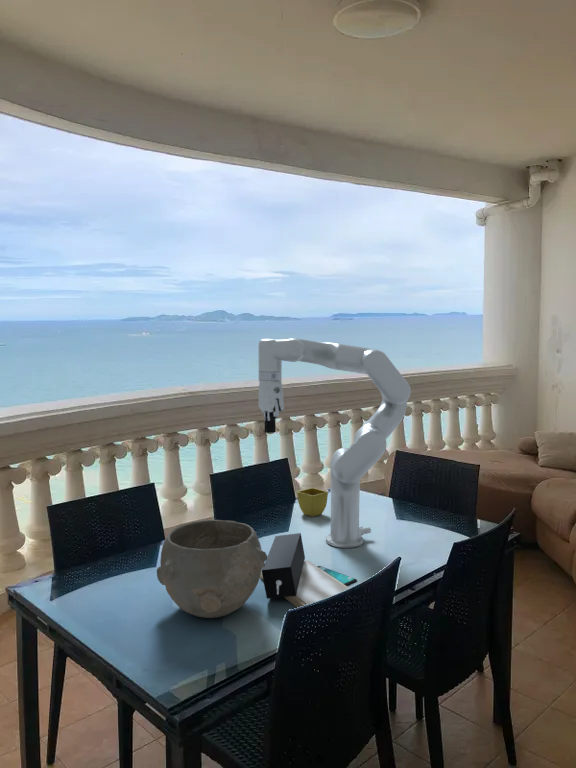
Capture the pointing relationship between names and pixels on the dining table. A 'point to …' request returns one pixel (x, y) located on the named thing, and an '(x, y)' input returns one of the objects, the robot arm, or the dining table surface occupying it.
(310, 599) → the tray
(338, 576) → the smartphone
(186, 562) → the bowl
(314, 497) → the flower pot
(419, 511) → the dining table surface
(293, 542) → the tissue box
